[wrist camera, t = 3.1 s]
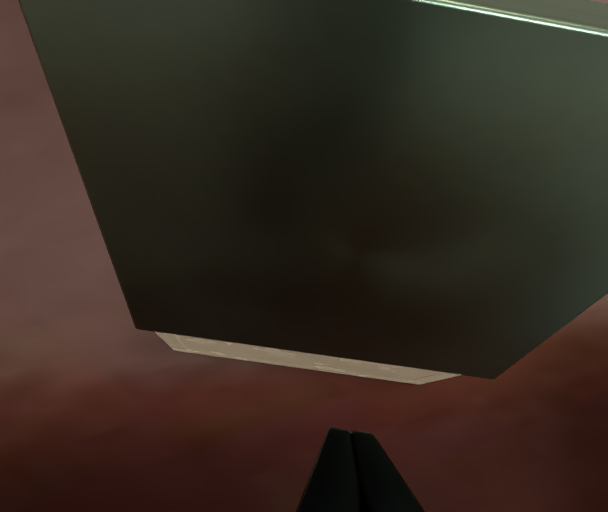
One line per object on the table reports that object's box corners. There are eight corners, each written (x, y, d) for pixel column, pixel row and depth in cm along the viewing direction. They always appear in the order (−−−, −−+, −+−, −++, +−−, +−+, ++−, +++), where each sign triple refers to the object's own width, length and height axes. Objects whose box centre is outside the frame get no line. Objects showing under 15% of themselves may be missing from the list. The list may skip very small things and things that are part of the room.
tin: (215, 150, 26) (204, 60, 19) (428, 185, 26) (485, 109, 20) (173, 350, 22) (141, 321, 16) (420, 384, 23) (486, 370, 16)
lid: (13, -113, 6) (-16, -86, 6) (856, 47, 7) (890, 82, 6) (142, 307, 16) (134, 329, 15) (491, 357, 16) (494, 380, 16)
